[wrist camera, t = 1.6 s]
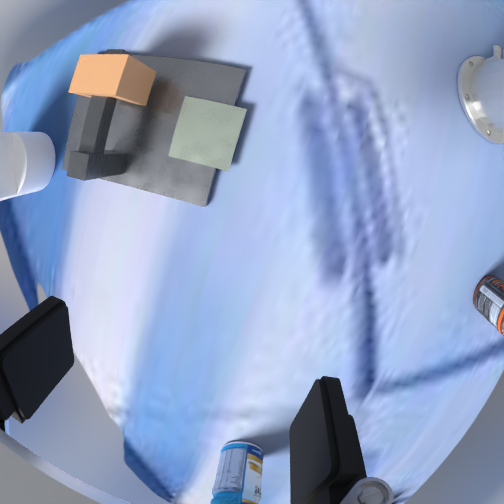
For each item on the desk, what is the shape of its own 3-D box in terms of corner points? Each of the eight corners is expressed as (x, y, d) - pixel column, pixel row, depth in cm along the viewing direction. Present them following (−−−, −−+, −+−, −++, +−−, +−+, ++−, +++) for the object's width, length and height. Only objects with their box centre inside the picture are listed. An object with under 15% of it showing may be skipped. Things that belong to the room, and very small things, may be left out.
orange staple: (112, 68, 25) (80, 54, 19) (156, 72, 25) (128, 54, 19) (102, 100, 26) (68, 92, 20) (145, 105, 26) (115, 95, 20)
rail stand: (95, 56, 27) (54, 39, 19) (259, 75, 27) (253, 45, 19) (66, 168, 32) (20, 175, 24) (219, 209, 32) (199, 227, 24)
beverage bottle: (227, 435, 45) (209, 528, 26) (270, 445, 45) (265, 536, 26) (216, 454, 47) (199, 536, 28) (256, 463, 48) (247, 544, 29)
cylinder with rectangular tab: (58, 186, 33) (-4, 201, 22) (22, 195, 34) (-34, 211, 22) (54, 124, 30) (-8, 123, 19) (18, 140, 31) (-38, 145, 20)
